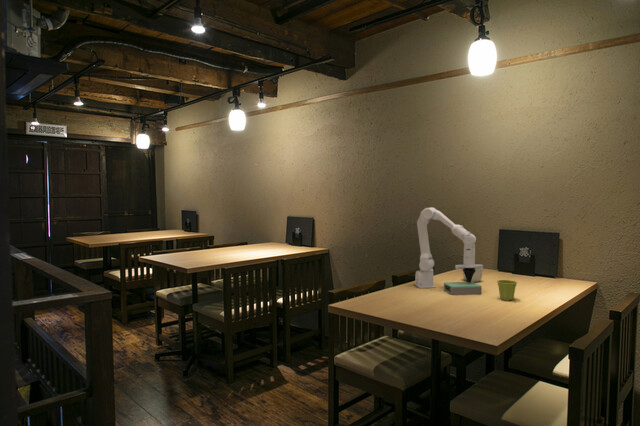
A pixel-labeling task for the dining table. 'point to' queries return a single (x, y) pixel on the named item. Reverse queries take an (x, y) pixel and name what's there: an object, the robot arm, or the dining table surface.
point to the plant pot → (506, 289)
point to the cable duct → (462, 290)
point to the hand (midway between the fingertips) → (468, 282)
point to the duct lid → (462, 285)
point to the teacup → (475, 275)
